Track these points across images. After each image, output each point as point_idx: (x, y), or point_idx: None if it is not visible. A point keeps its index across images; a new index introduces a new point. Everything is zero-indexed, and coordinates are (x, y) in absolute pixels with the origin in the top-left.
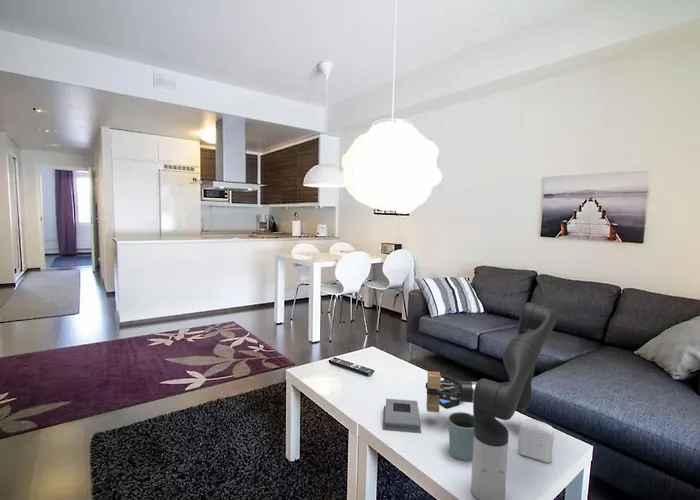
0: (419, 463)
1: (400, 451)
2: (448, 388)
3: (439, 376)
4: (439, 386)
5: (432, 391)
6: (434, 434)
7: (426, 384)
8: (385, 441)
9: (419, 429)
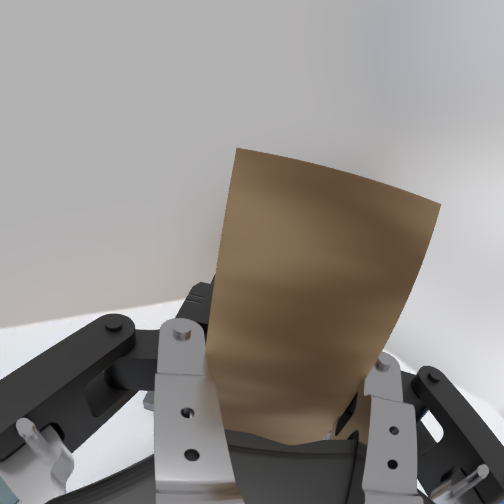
0: (15, 333)
1: (75, 320)
2: (165, 439)
3: (251, 150)
4: (210, 312)
5: (186, 300)
6: (122, 453)
7: None
8: (130, 309)
9: (151, 398)
